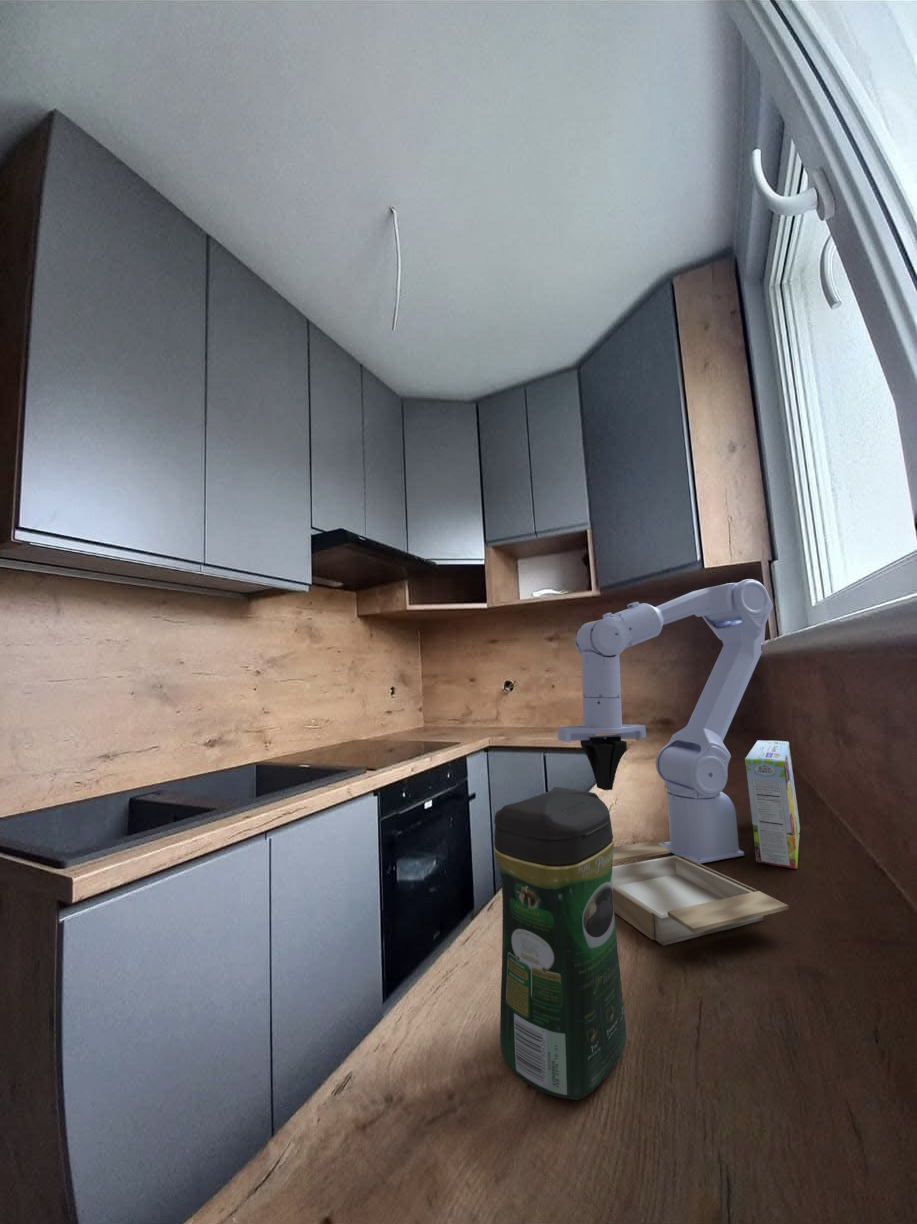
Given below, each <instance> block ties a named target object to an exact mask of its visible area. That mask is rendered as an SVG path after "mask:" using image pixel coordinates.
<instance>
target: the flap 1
mask: <svg viewBox="0 0 917 1224" xmlns="http://www.w3.org/2000/svg"><path fill="white" fill-rule="evenodd" d="M670 853H671V852H670V850H669V849H667V848H665V847H663V846H661V845H659V844H658V843H657V842H655V841H653V840H650V841H645V842H638V843H633V844H628V845H627V844H626V845H620V846H619V845H618V846H613V864H615V863H620V862H626V861H631V860H639V859H644V858H648V857H654V856H660V855H661V856H662V855H667V854H670Z"/></svg>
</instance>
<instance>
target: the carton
mask: <svg viewBox="0 0 917 1224" xmlns="http://www.w3.org/2000/svg"><path fill="white" fill-rule="evenodd" d="M612 886H613V903H614V914H616V915H617V916H619V917H620V918H622V919H623V920H624V921H626V922H627V923H628V924H630V925H631V926H633V927H634V928H635V929H637V930H638V931H639V932H641V933H642V934H643V935H645V936H646V937H647V938H649V939H650V940H652V941H653V940H654V941H657V942H658V943H659V944H661V945H662V946H667V945H671V944H675V943H679V942H683V941H686V940H690V939H695V938H699V937H702V936H708V935H709V934H715V933H718V932H722V931H725V930H726V931H727V930H731V929H734V928H738V927H743V926H746V925H751V924H754V923H758V922H762V921H764V916H760V917H756V918H752V919H748V920H744V921H740V922H736V923H732V924H728V925H724V926H720V927H716V928H712V929H708V930H704V931H699V932H695V933H693V932H691V931H690V930H688V929H687V928H685V927H684V926H682V925H681V924H679V923H678V922H676V921H675V920H674V919H672V918H671V917H669V916H668V913H667V911H672V910H676V909H680V908H685V907H689V906H694V905H698V904H703V903H707V902H712V901H716V900H721V899H725V898H730V897H734V896H738V895H743V894H747V893H752V892H756V891H758V890H757V889H756V888H753V887H751V886H749V885H747V884H745V883H742V882H741V881H738V880H736V879H734V878H732V877H730V876H727V875H725V874H723V873H722V872H718V871H716V870H714V869H712V868H710V867H708V866H705V865H703V864H702V863H701V864H699V863H697V862H695V861H693V860H690V859H688V858H686V857H684V856H682V857H679V856H677V855H669V856H664V857H659V858H653V859H649V860H643V861H638V862H637V861H636V862H631V863H625V864H620V865H615V866H612Z"/></svg>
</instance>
